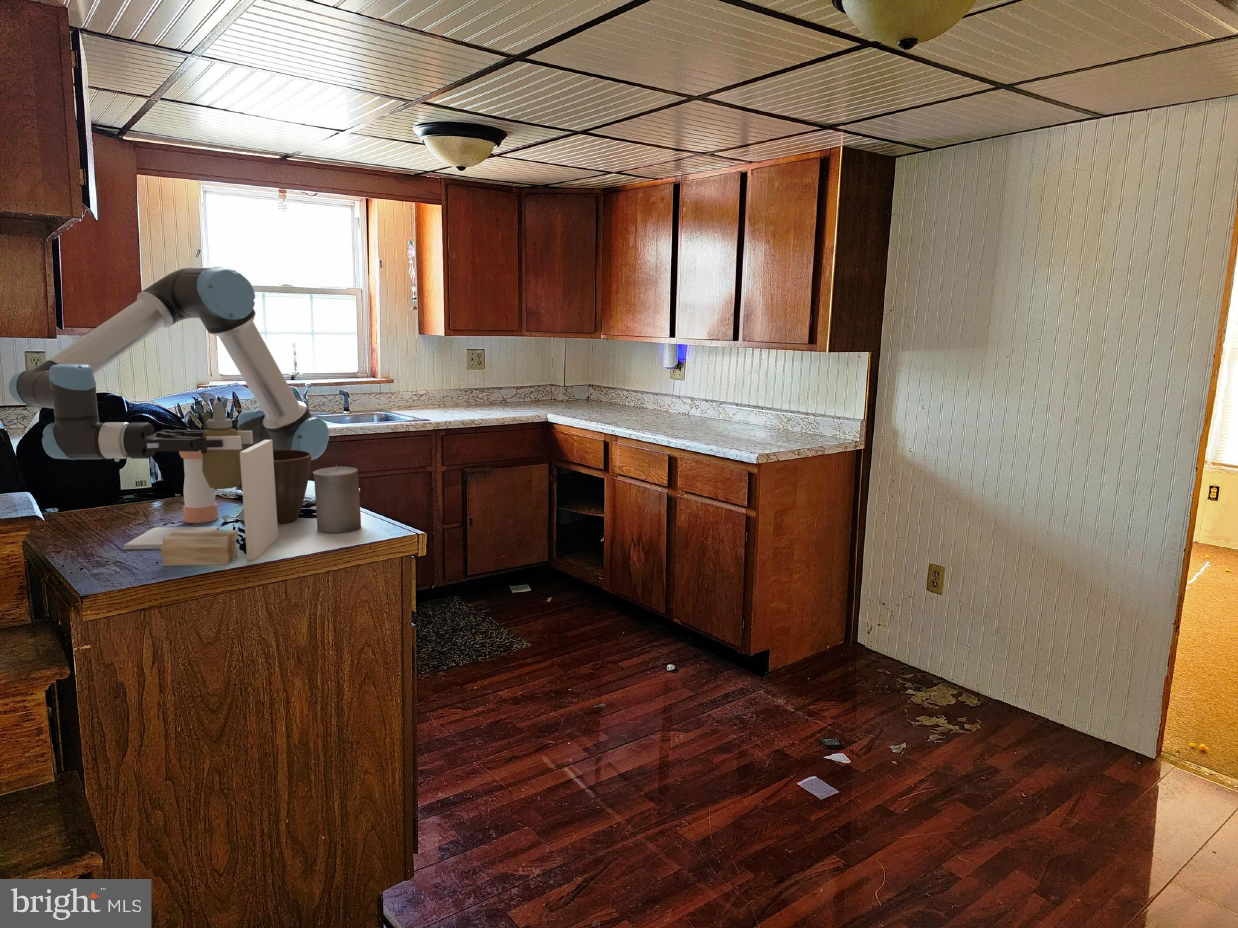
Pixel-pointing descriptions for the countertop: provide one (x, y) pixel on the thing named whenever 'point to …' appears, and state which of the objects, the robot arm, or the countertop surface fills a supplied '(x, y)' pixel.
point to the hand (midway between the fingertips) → (246, 439)
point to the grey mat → (158, 537)
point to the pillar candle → (337, 499)
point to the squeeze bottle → (221, 454)
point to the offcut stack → (199, 547)
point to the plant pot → (290, 482)
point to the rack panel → (259, 498)
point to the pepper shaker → (197, 491)
